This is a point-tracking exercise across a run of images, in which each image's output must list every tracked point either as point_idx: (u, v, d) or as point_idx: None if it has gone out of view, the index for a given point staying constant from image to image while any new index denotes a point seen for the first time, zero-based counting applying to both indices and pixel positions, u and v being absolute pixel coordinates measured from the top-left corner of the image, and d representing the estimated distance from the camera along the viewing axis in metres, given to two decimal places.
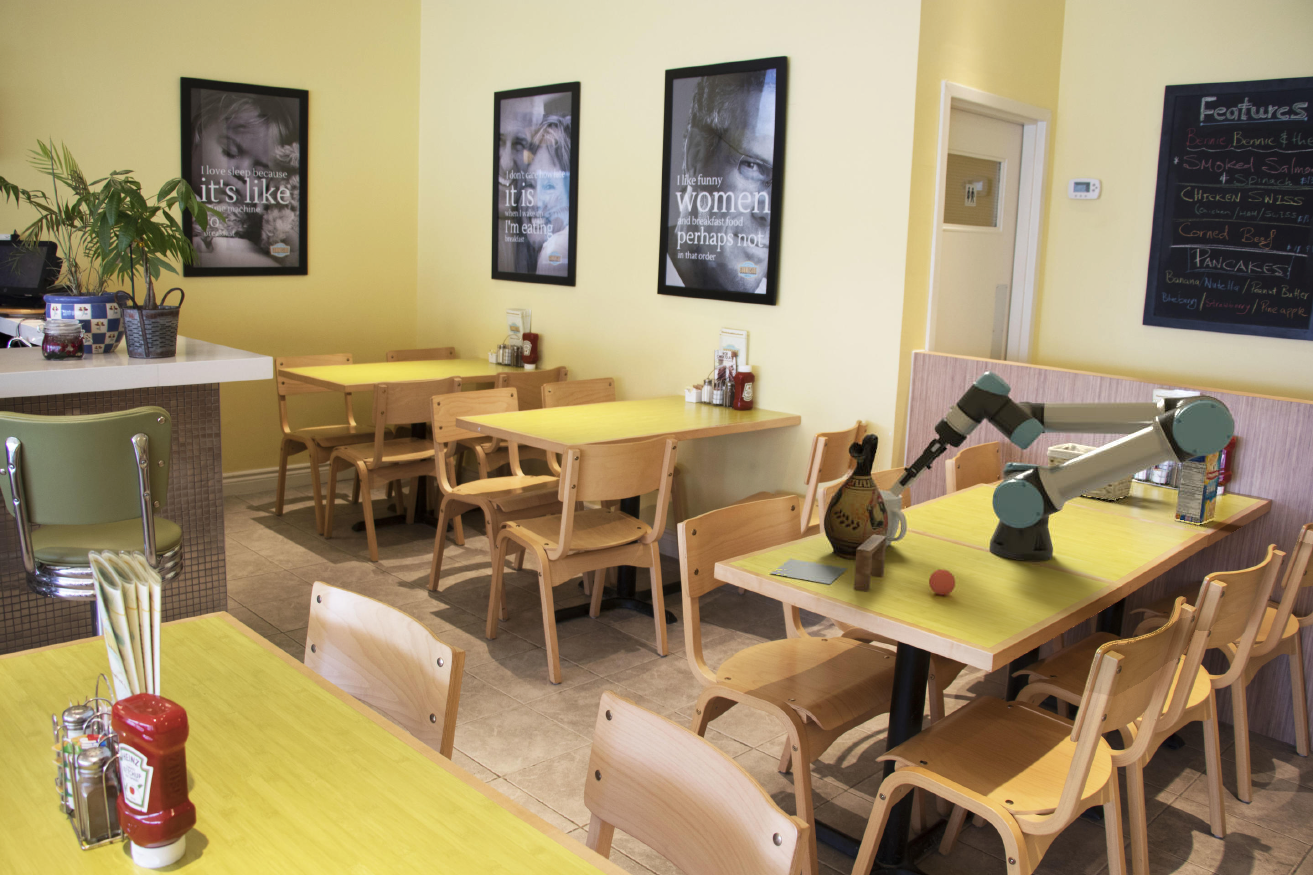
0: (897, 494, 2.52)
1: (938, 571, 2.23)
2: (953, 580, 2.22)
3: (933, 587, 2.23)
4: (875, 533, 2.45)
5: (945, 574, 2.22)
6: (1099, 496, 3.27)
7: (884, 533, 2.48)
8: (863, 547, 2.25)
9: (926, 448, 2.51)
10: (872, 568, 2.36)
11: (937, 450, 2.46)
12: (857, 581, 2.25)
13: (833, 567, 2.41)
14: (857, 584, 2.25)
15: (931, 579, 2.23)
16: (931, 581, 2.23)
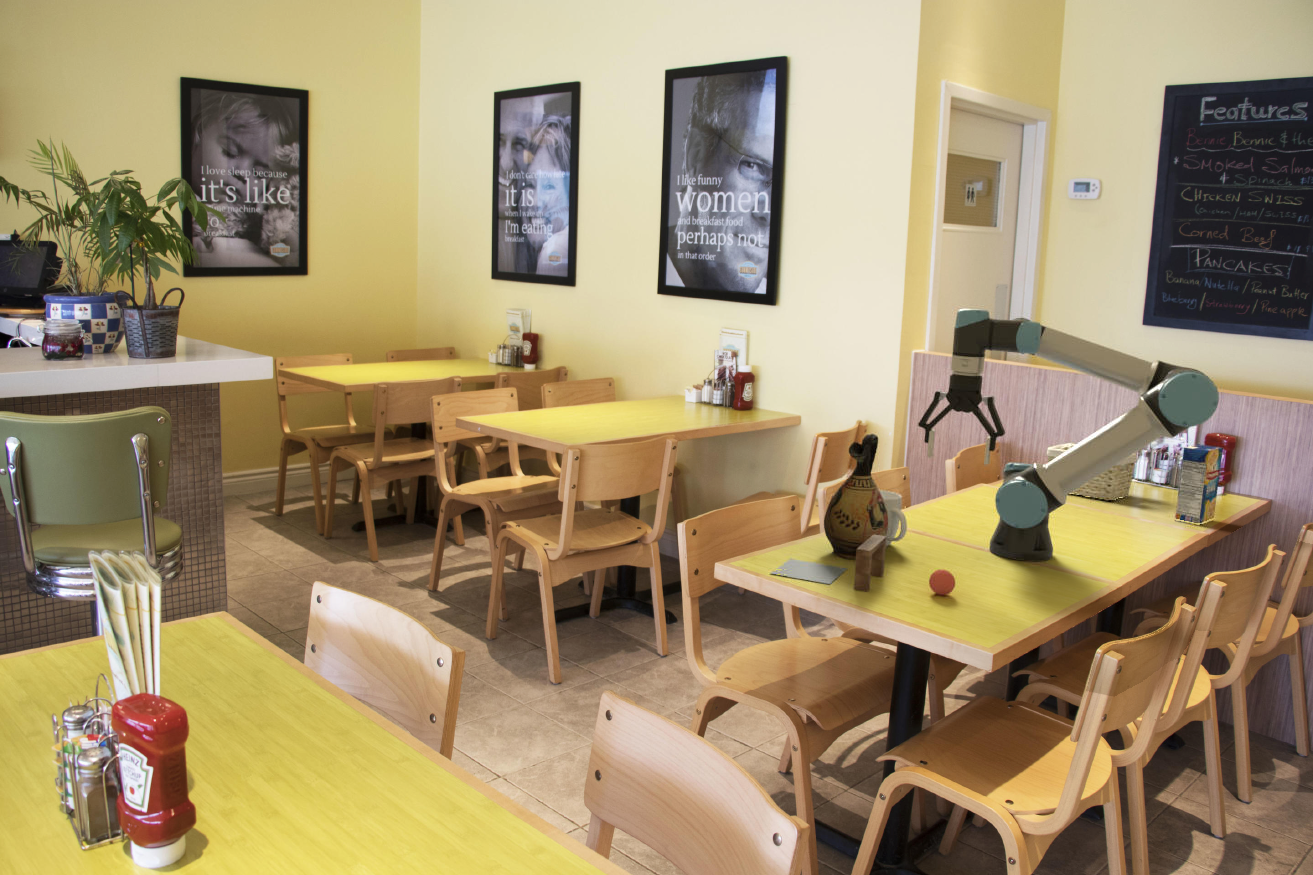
0: None
1: (938, 571, 2.23)
2: (953, 580, 2.22)
3: (933, 587, 2.23)
4: (875, 533, 2.45)
5: (945, 574, 2.22)
6: (1098, 496, 3.27)
7: (884, 533, 2.48)
8: (863, 547, 2.25)
9: (976, 409, 2.46)
10: (872, 568, 2.36)
11: None
12: (857, 581, 2.25)
13: (833, 567, 2.41)
14: (857, 584, 2.25)
15: (931, 579, 2.23)
16: (931, 581, 2.23)
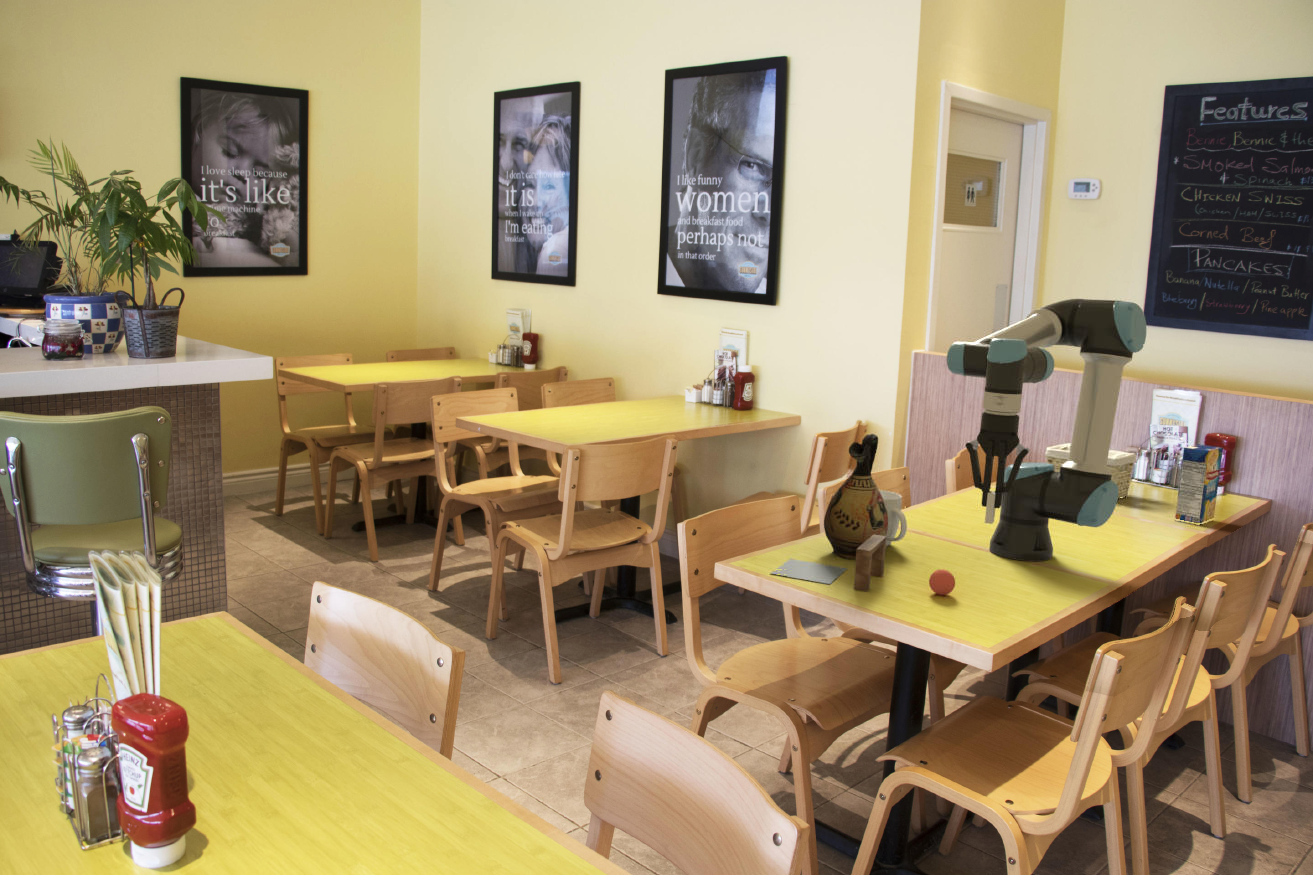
0: None
1: (938, 571, 2.23)
2: (953, 580, 2.22)
3: (933, 587, 2.23)
4: (875, 533, 2.45)
5: (945, 574, 2.22)
6: None
7: (884, 533, 2.48)
8: (863, 547, 2.25)
9: (1004, 457, 2.15)
10: (872, 568, 2.36)
11: None
12: (857, 581, 2.25)
13: (833, 567, 2.41)
14: (857, 584, 2.25)
15: (931, 579, 2.23)
16: (931, 581, 2.23)
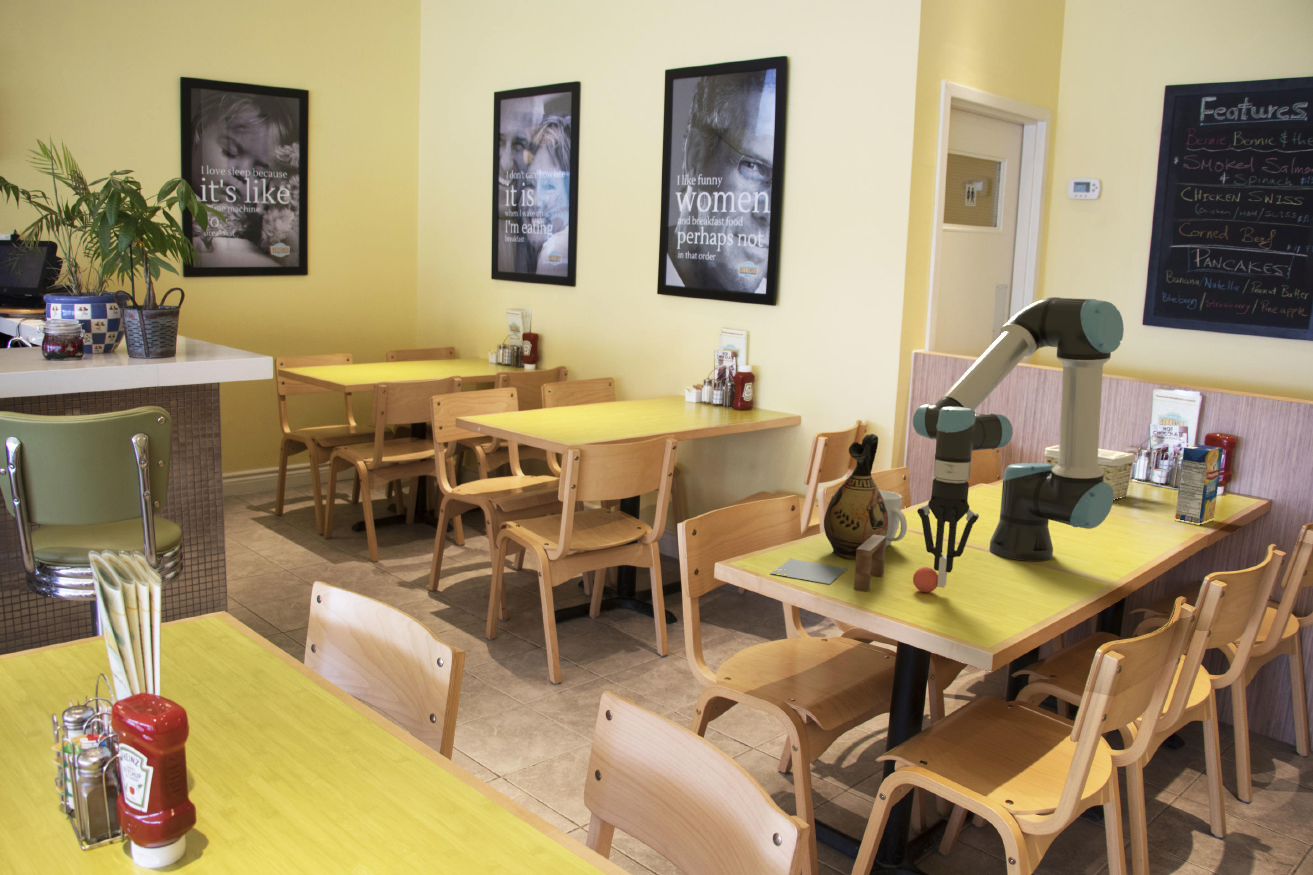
0: None
1: (914, 574, 2.26)
2: (930, 570, 2.24)
3: (922, 589, 2.24)
4: (875, 533, 2.45)
5: (920, 571, 2.24)
6: None
7: (884, 533, 2.48)
8: (863, 547, 2.25)
9: (955, 523, 2.19)
10: (872, 568, 2.36)
11: None
12: (857, 581, 2.25)
13: (833, 567, 2.41)
14: (857, 584, 2.25)
15: (915, 585, 2.25)
16: (916, 586, 2.25)
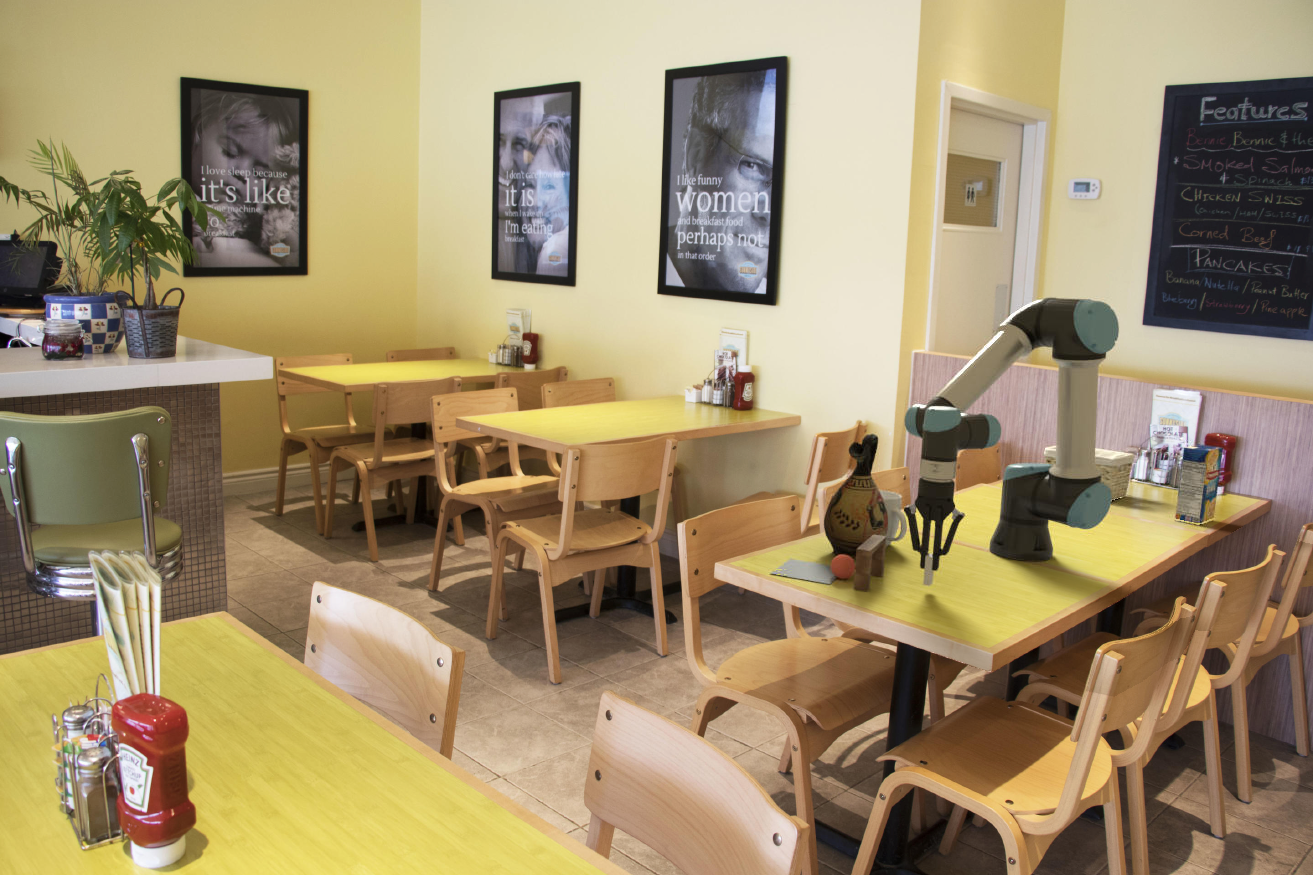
0: (932, 580, 2.26)
1: None
2: (842, 556, 2.32)
3: (842, 576, 2.31)
4: (875, 533, 2.45)
5: (833, 560, 2.32)
6: None
7: (884, 533, 2.48)
8: (863, 547, 2.25)
9: (940, 522, 2.21)
10: (872, 568, 2.36)
11: None
12: (857, 581, 2.25)
13: None
14: (857, 584, 2.25)
15: (835, 575, 2.32)
16: (836, 575, 2.32)
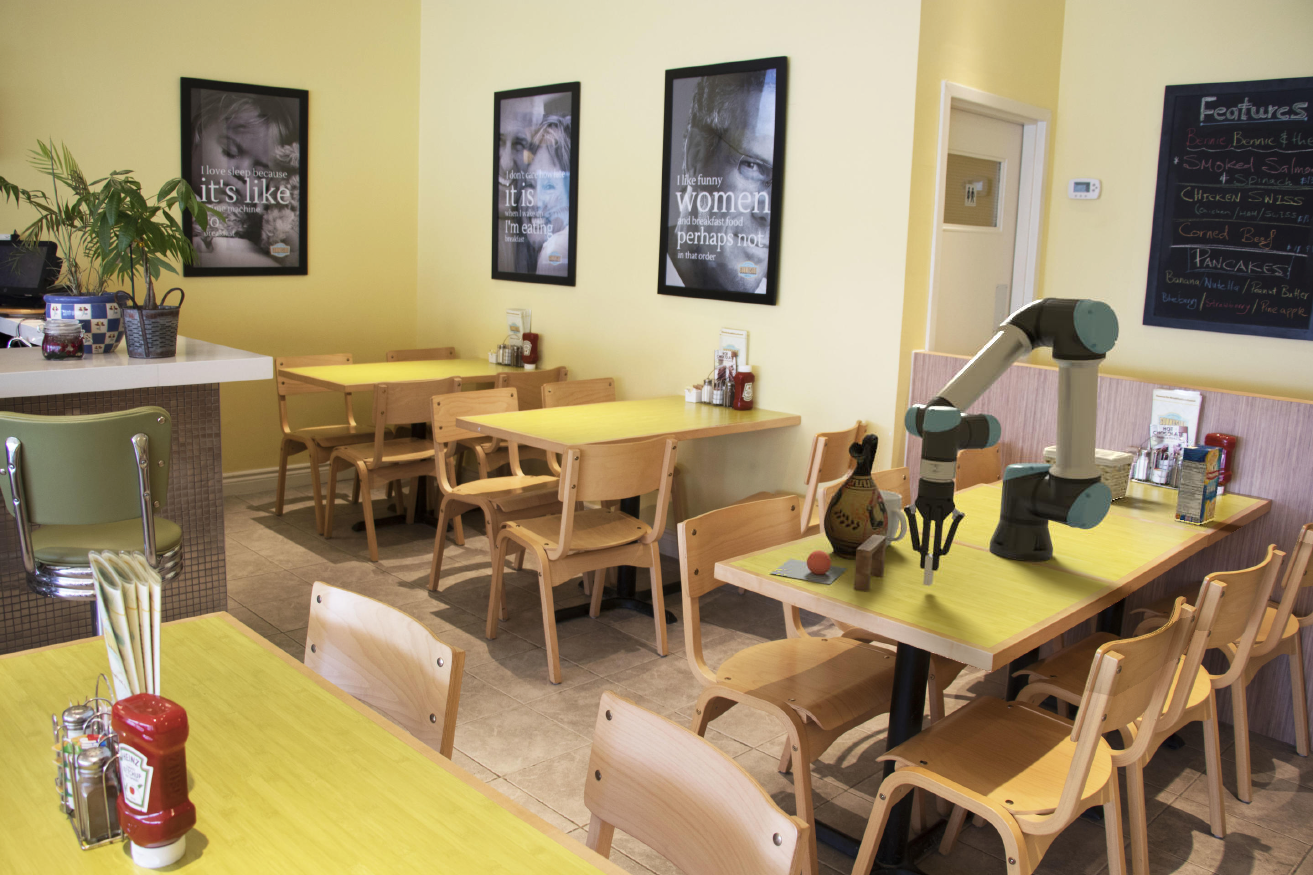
0: (932, 580, 2.26)
1: (822, 573, 2.34)
2: (808, 567, 2.36)
3: (821, 560, 2.33)
4: (875, 533, 2.45)
5: (815, 573, 2.35)
6: None
7: (884, 533, 2.48)
8: (863, 547, 2.25)
9: (940, 522, 2.21)
10: (872, 568, 2.36)
11: None
12: (857, 581, 2.25)
13: (833, 567, 2.41)
14: (857, 584, 2.25)
15: (826, 567, 2.33)
16: (825, 565, 2.33)
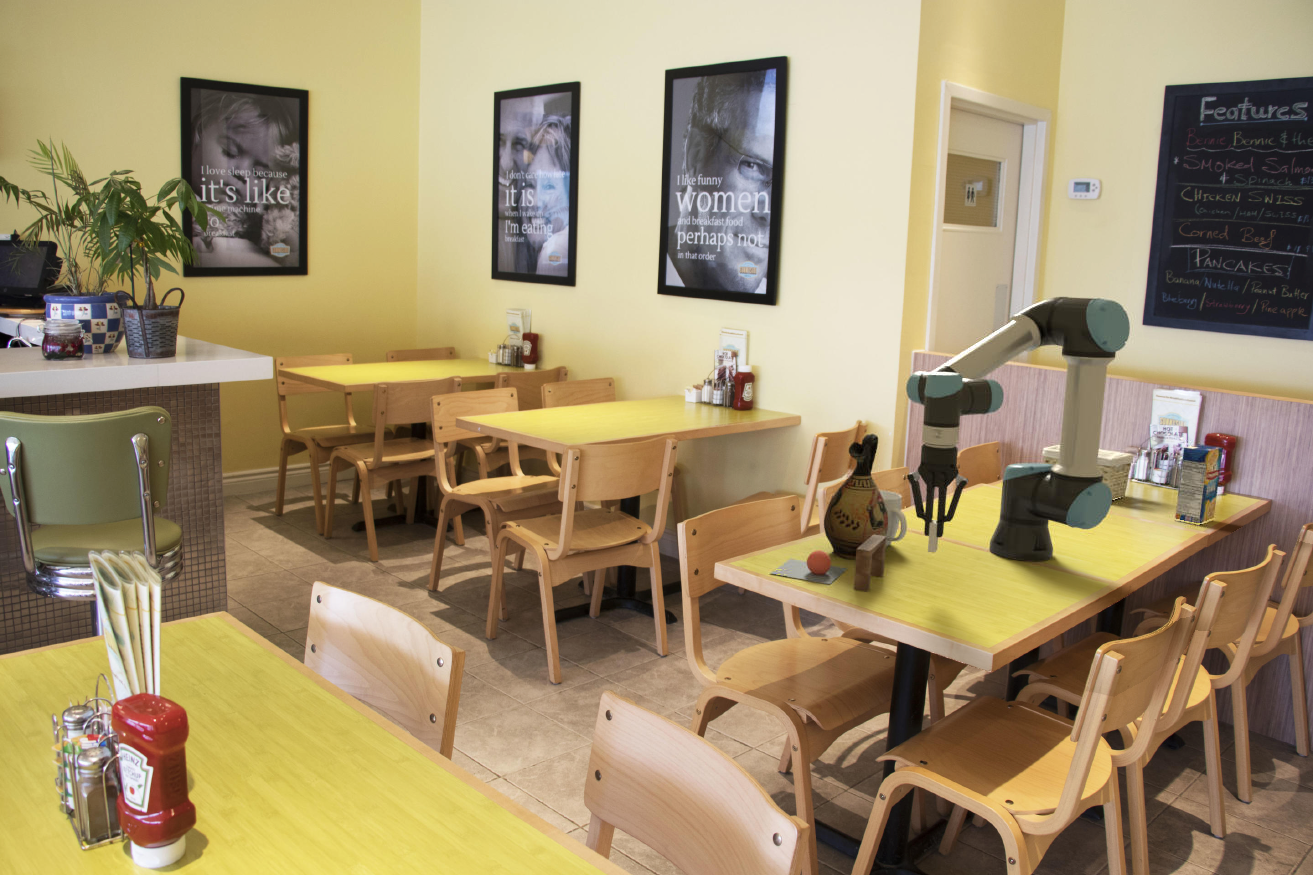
0: None
1: (822, 573, 2.34)
2: (808, 567, 2.36)
3: (821, 560, 2.33)
4: (875, 533, 2.45)
5: (815, 573, 2.35)
6: None
7: (884, 533, 2.48)
8: (863, 547, 2.25)
9: (944, 488, 2.20)
10: (872, 568, 2.36)
11: None
12: (857, 581, 2.25)
13: (833, 567, 2.41)
14: (857, 584, 2.25)
15: (826, 567, 2.33)
16: (825, 565, 2.33)
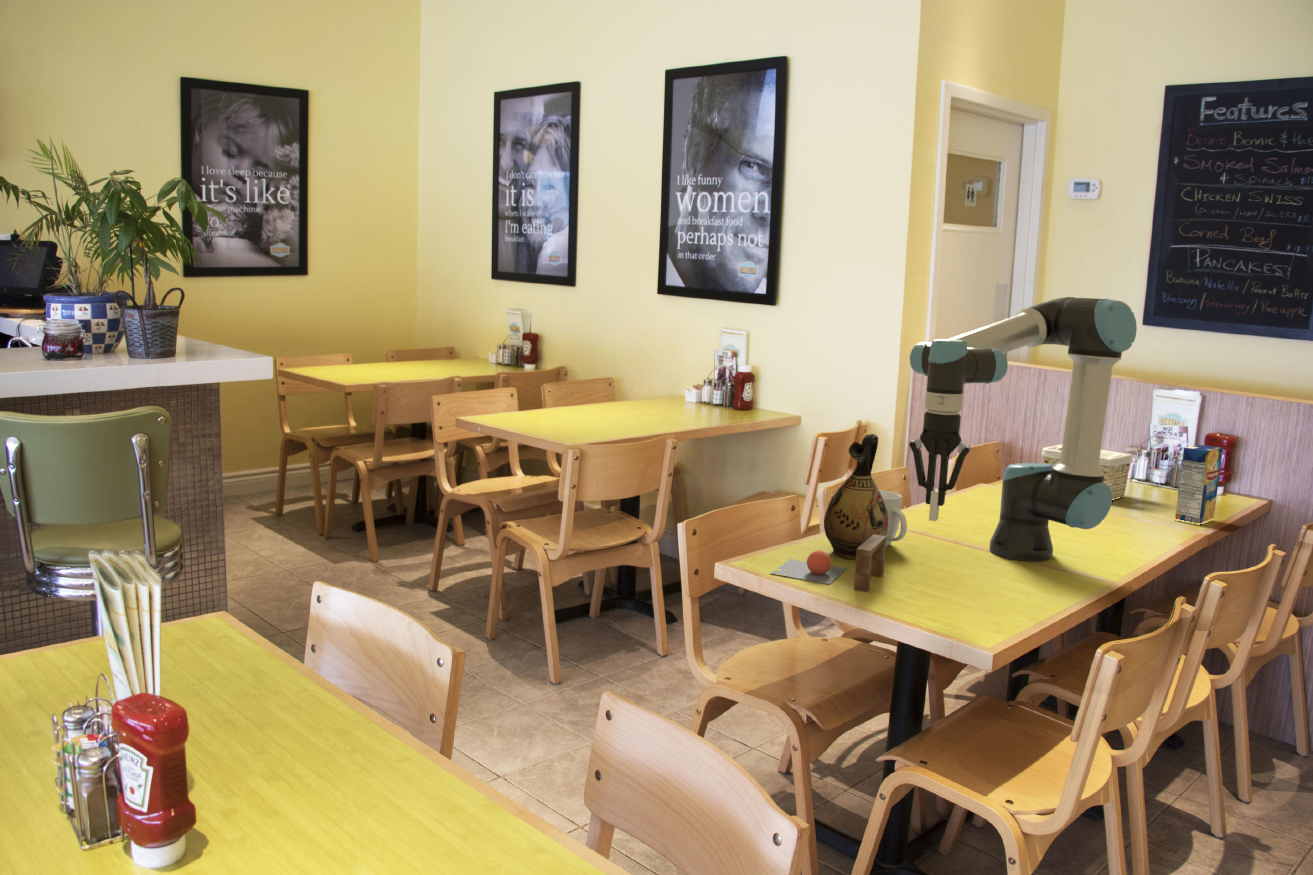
0: None
1: (822, 573, 2.34)
2: (808, 567, 2.36)
3: (821, 560, 2.33)
4: (875, 533, 2.45)
5: (815, 573, 2.35)
6: None
7: (884, 533, 2.48)
8: (863, 547, 2.25)
9: (946, 456, 2.19)
10: (872, 568, 2.36)
11: (968, 452, 2.19)
12: (857, 581, 2.25)
13: (833, 567, 2.41)
14: (857, 584, 2.25)
15: (826, 567, 2.33)
16: (825, 565, 2.33)
